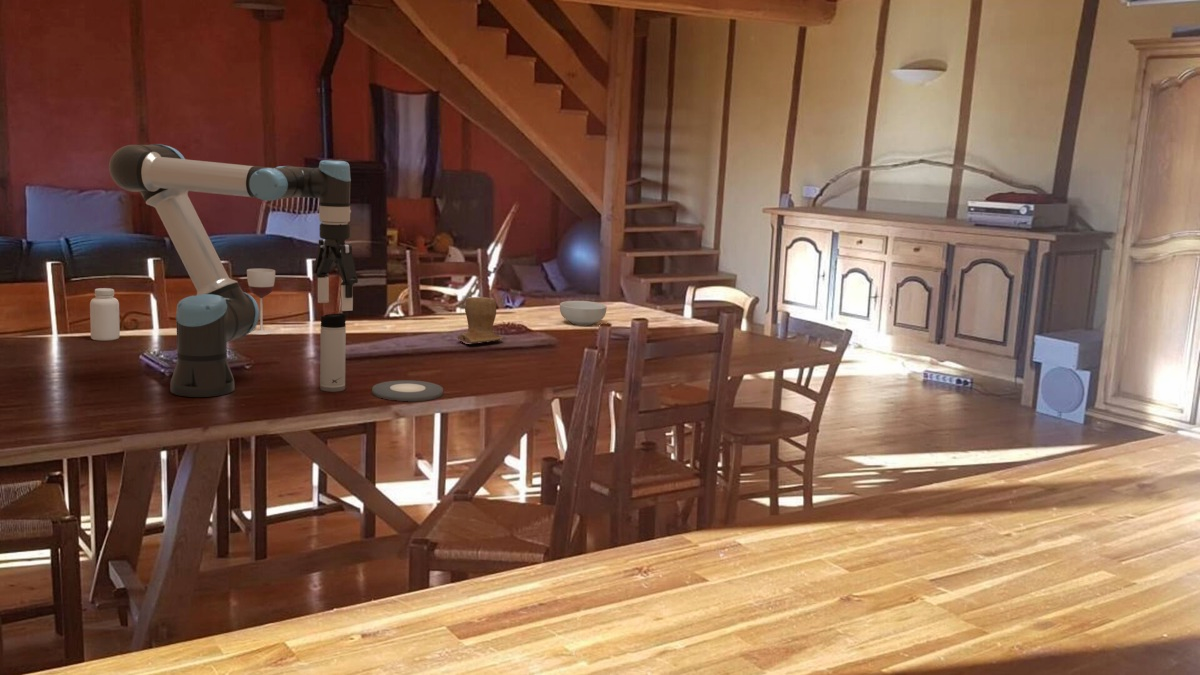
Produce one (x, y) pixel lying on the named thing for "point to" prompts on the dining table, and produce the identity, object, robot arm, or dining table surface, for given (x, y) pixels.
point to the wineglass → (261, 289)
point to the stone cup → (480, 320)
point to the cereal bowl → (582, 312)
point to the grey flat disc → (407, 390)
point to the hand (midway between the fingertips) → (334, 306)
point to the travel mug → (332, 352)
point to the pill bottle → (104, 315)
